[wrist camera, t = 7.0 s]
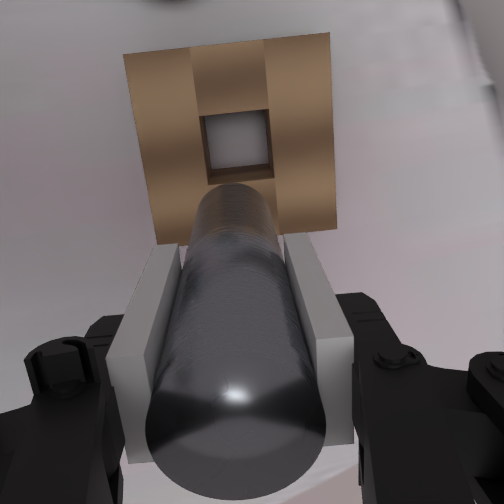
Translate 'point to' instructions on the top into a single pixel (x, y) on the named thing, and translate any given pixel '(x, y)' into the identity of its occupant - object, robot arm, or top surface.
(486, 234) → the top surface
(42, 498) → the robot arm
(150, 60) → the socket block
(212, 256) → the long pin
